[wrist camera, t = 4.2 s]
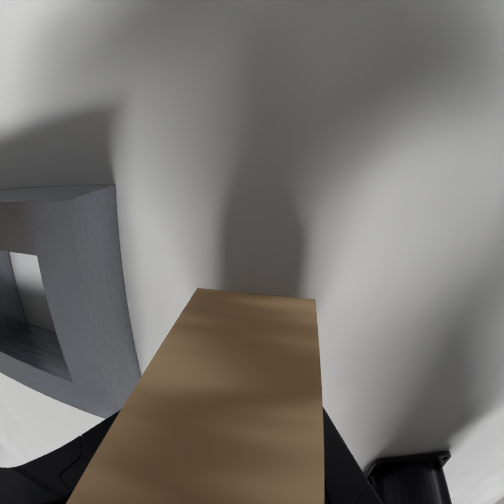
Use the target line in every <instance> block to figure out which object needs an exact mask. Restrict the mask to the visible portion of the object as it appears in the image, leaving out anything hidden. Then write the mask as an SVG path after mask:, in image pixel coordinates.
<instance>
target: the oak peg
mask: <svg viewBox="0 0 504 504" xmlns="http://www.w3.org/2000/svg"><path fill="white" fill-rule="evenodd" d="M66 504H324V432H323V405H322V385H321V368H320V353H319V339H318V326H317V314H316V303H315V299H304V298H292V297H281V296H269V295H259V294H248V293H238V292H229V291H219V290H210V289H201V288H197V290H196V291H195V293H194V294H193V296H192V297H191V299H190V301H189V302H188V304H187V305H186V307H185V308H184V310H183V311H182V313H181V315H180V316H179V318H178V319H177V321H176V322H175V324H174V326H173V327H172V329H171V330H170V332H169V333H168V335H167V337H166V338H165V340H164V341H163V343H162V344H161V346H160V348H159V349H158V351H157V352H156V354H155V356H154V357H153V359H152V360H151V362H150V364H149V365H148V367H147V368H146V370H145V372H144V373H143V375H142V377H141V378H140V380H139V381H138V383H137V385H136V386H135V388H134V390H133V391H132V393H131V394H130V396H129V398H128V399H127V401H126V403H125V404H124V406H123V408H122V409H121V411H120V412H119V414H118V416H117V417H116V419H115V421H114V422H113V424H112V426H111V427H110V429H109V431H108V432H107V434H106V436H105V437H104V439H103V441H102V443H101V444H100V446H99V448H98V449H97V451H96V453H95V454H94V456H93V458H92V460H91V461H90V463H89V465H88V466H87V468H86V470H85V472H84V473H83V475H82V477H81V478H80V480H79V482H78V484H77V485H76V487H75V489H74V491H73V492H72V494H71V496H70V498H69V500H68V501H67V503H66Z"/></svg>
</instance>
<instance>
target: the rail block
mask: <svg viewBox="0 0 504 504" xmlns="http://www.w3.org/2000/svg"><path fill="white" fill-rule="evenodd" d="M8 251H10V252H16V253H23V254H30V255H36V256H37V257H38V262H39V267H40V272H41V277H42V281H43V286H44V290H45V294H46V298H47V302H48V306H49V310H50V313H51V317H52V320H53V324H54V327H55V331H56V333H55V332H52V331H48V330H45V329H42V328H39V327H36V326H33V325H30V324H27V322H26V319H25V315H24V312H23V309H22V305H21V302H20V298H19V295H18V291H17V287H16V283H15V279H14V275H13V271H12V266H11V262H10V257H9V252H8ZM0 372H1V373H3V374H4V375H6V376H8V377H10V378H12V379H14V380H16V381H18V382H20V383H22V384H24V385H26V386H28V387H30V388H32V389H34V390H36V391H38V392H40V393H42V394H44V395H47V396H49V397H51V398H53V399H56V400H58V401H60V402H63V403H65V404H68V405H70V406H72V407H75V408H78V409H80V410H83V411H85V412H88V413H91V414H93V415H96V416H99V417H102V418H105V419H107V418H108V417H110V416H111V415H113V414H114V413H116V412H117V411H119V410H120V409H122V408H123V406H124V404H125V403H126V401H127V399H128V398H129V396H130V394H131V393H132V391H133V390H134V388H135V386H136V385H137V383H138V381H139V380H140V378H141V375H140V370H139V366H138V361H137V357H136V352H135V347H134V342H133V337H132V331H131V326H130V320H129V314H128V308H127V302H126V295H125V288H124V281H123V273H122V265H121V256H120V247H119V236H118V225H117V211H116V194H115V185H83V186H53V187H33V188H16V189H2V190H0Z"/></svg>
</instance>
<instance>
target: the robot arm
mask: <svg viewBox="0 0 504 504" xmlns="http://www.w3.org/2000/svg"><path fill="white" fill-rule="evenodd" d="M120 411H121V409H120V410H119V411H117V412H116V413H114V414H113V415H111V416H110V417H108V418H107V419H105V420H104V421H102V422H101V423H99V424H98V425H96V426H95V427H93V428H91V429H90V430H88V431H87V432H85V433H84V434H82V436H79V437H77V438H76V439H74V440H72V441H71V442H69V443H67V444H66V445H64V446H62V447H60V448H58V449H56V450H54V451H52V452H50V453H48V454H46V455H44V456H42V457H39V458H37V459H35V460H33V461H30V462H28V463H26V464H23V465H20V466H17V467H12V468H0V504H66V503H67V501H68V500H69V498H70V496H71V494H72V492H73V491H74V489H75V487H76V485H77V484H78V482H79V480H80V478H81V477H82V475H83V473H84V472H85V470H86V468H87V466H88V465H89V463H90V461H91V460H92V458H93V456H94V454H95V453H96V451H97V449H98V448H99V446H100V444H101V443H102V441H103V439H104V437H105V436H106V434H107V432H108V431H109V429H110V427H111V426H112V424H113V422H114V421H115V419H116V417H117V416H118V414H119V412H120ZM323 432H324V504H452V503H451V498H450V494H449V490H448V487H447V483H446V479H445V475H444V472H443V468H442V467H443V466H444V465H445V463H446V462H447V461H448V460H449V458H450V457H451V454H450V451H444V452H438V453H431V454H424V455H417V456H408V457H398V458H386V459H379V460H376V461H375V462H374V463H373V465H372V466H371V468H370V469H369V471H368V472H367V474H366V476H365V475H364V473H363V472H362V470H361V468H360V467H359V465H358V464H357V462H356V460H355V459H354V457H353V455H352V454H351V452H350V450H349V449H348V447H347V445H346V444H345V442H344V441H343V439H342V437H341V436H340V434H339V432H338V431H337V429H336V427H335V426H334V424H333V422H332V421H331V419H330V417H329V416H328V414H327V412H326V411H325V409H324V407H323Z"/></svg>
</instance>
